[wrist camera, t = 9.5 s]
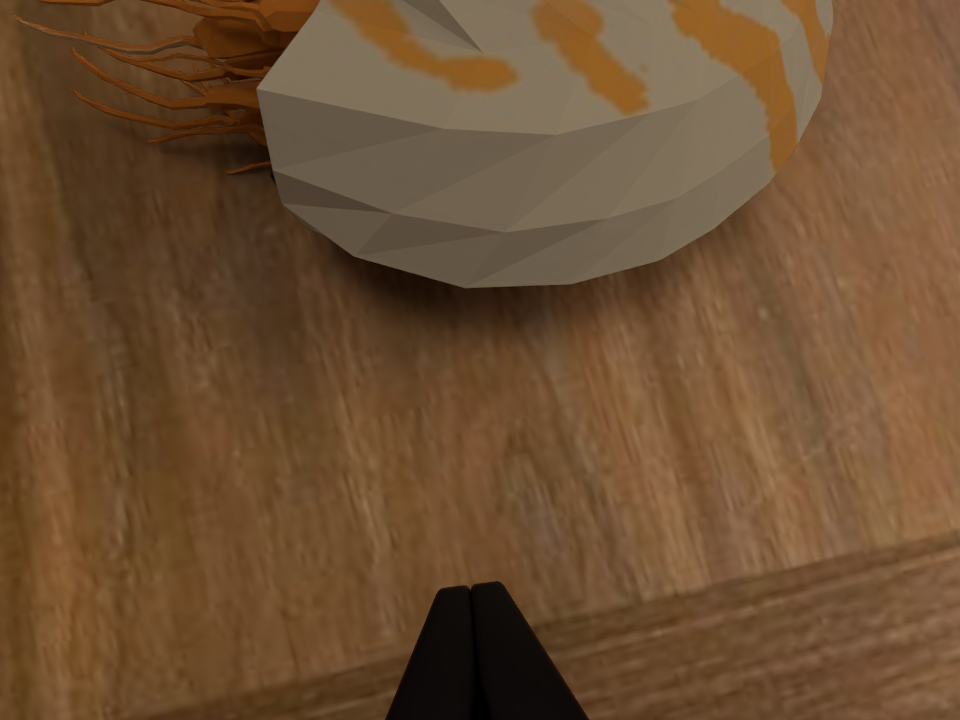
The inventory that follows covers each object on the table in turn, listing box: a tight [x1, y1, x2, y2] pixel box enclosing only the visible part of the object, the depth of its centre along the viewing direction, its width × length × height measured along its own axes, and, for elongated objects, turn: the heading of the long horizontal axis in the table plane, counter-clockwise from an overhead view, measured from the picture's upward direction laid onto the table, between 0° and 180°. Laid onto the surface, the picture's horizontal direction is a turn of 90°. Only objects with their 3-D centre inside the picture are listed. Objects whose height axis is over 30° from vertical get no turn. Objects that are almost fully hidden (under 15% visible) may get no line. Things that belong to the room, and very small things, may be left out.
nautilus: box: [14, 0, 834, 288], centre depth 19 cm, size 8×22×15 cm
